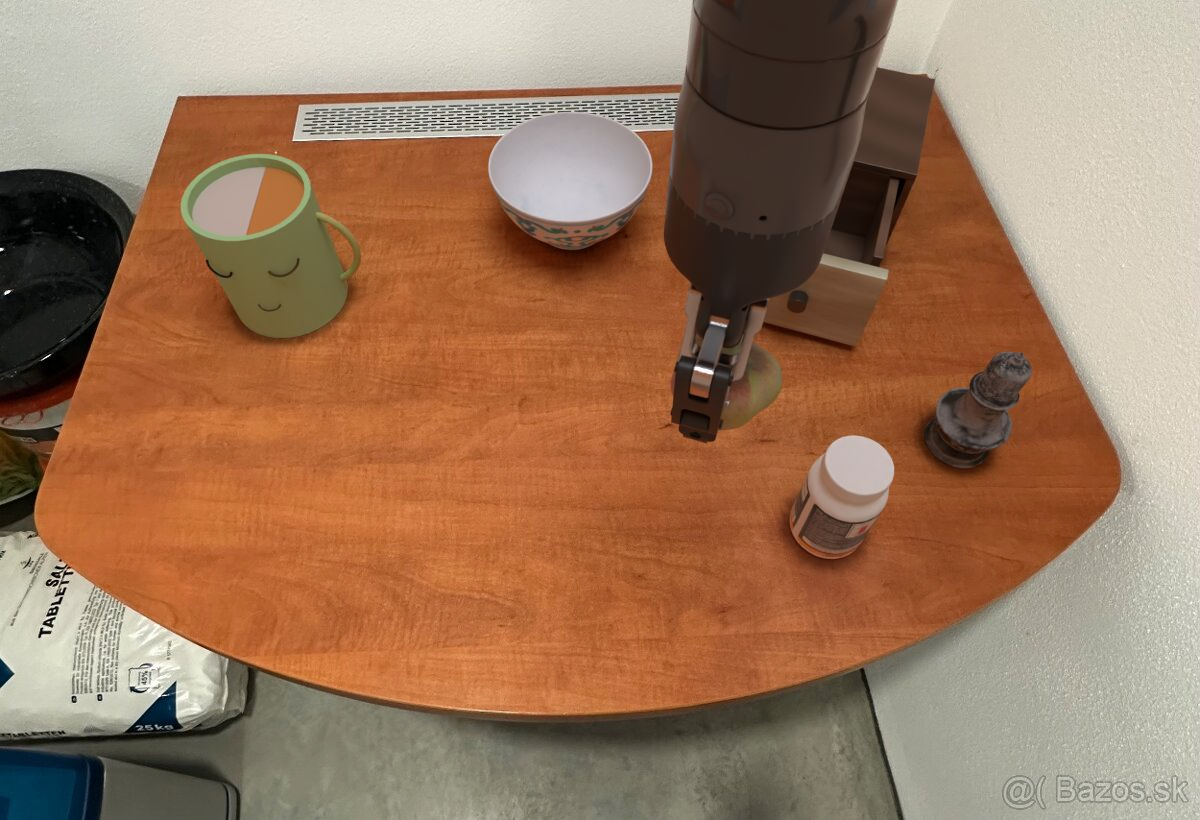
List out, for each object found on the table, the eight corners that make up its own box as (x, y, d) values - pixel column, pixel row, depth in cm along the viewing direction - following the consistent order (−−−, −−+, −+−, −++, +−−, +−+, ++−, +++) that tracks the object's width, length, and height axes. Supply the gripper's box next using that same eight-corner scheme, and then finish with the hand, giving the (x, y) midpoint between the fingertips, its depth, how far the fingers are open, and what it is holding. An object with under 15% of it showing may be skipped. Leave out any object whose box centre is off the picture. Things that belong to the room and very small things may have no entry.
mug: (224, 342, 71) (164, 245, 61) (248, 256, 77) (197, 154, 67) (367, 340, 71) (331, 243, 61) (380, 254, 77) (350, 152, 67)
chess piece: (990, 480, 64) (1064, 397, 54) (916, 459, 65) (976, 373, 55) (995, 422, 67) (1066, 333, 57) (924, 402, 68) (982, 312, 58)
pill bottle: (876, 539, 61) (922, 478, 53) (817, 574, 60) (854, 517, 52) (830, 482, 64) (866, 415, 56) (772, 514, 62) (800, 450, 54)
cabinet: (880, 259, 77) (917, 175, 69) (745, 226, 80) (764, 140, 71) (899, 166, 85) (935, 78, 76) (776, 138, 87) (797, 50, 79)
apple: (648, 359, 52) (654, 299, 47) (773, 373, 51) (792, 313, 46) (638, 438, 48) (643, 382, 43) (772, 454, 48) (792, 398, 43)
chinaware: (524, 163, 84) (519, 99, 78) (662, 190, 82) (668, 127, 76) (474, 263, 77) (463, 202, 70) (625, 296, 74) (629, 236, 68)
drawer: (854, 357, 70) (884, 290, 63) (718, 320, 72) (733, 252, 65) (878, 243, 78) (908, 172, 70) (755, 213, 80) (772, 141, 72)
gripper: (815, 310, 30) (745, 509, 44) (869, 86, 37) (795, 317, 51) (623, 263, 31) (615, 471, 45) (713, 55, 39) (682, 289, 53)
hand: (711, 388), depth 48 cm, fingers closed on apple, 6 cm apart
